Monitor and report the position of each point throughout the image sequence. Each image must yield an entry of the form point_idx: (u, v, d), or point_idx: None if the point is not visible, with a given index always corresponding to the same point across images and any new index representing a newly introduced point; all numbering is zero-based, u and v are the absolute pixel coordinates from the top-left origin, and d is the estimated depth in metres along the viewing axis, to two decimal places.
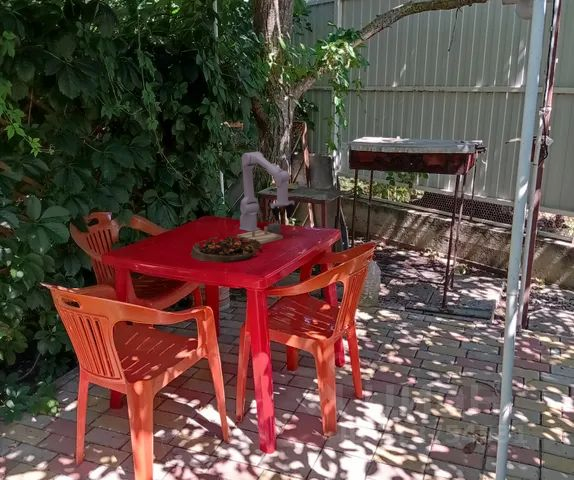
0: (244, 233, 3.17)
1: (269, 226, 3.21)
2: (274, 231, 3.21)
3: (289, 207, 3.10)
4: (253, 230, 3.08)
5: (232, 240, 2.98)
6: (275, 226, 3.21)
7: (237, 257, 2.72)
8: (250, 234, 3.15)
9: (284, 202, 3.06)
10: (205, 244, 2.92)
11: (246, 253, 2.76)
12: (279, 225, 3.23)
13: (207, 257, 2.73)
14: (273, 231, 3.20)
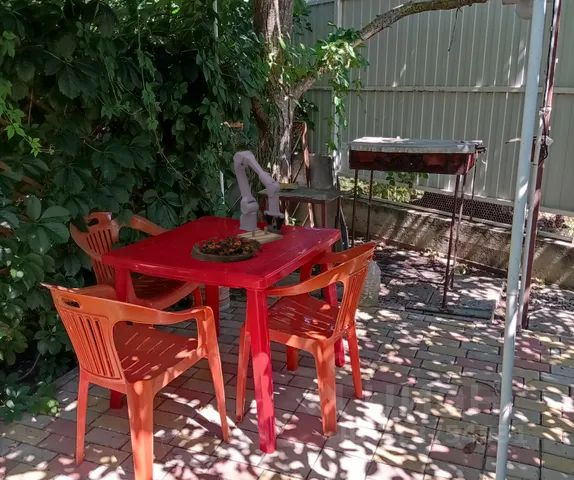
0: (244, 233, 3.17)
1: (269, 226, 3.21)
2: (274, 231, 3.21)
3: None
4: (253, 230, 3.08)
5: (232, 240, 2.98)
6: (275, 226, 3.21)
7: (237, 257, 2.72)
8: (250, 234, 3.15)
9: (269, 212, 3.20)
10: (205, 244, 2.92)
11: (246, 253, 2.76)
12: None
13: (207, 257, 2.73)
14: (273, 231, 3.20)
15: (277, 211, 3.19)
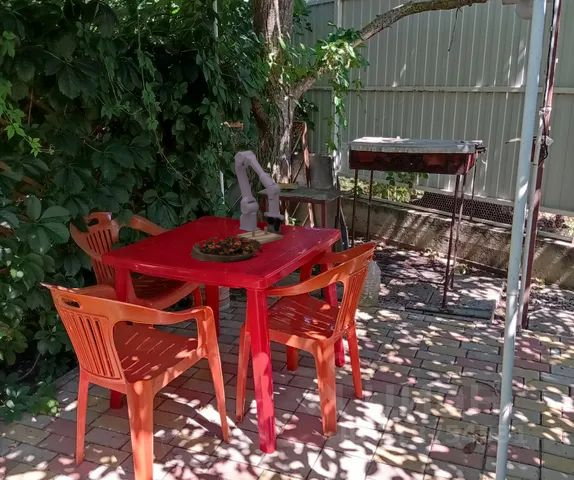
0: (244, 233, 3.17)
1: (269, 226, 3.21)
2: (274, 230, 3.21)
3: None
4: (253, 230, 3.08)
5: (232, 240, 2.98)
6: None
7: (237, 257, 2.72)
8: (250, 234, 3.15)
9: (269, 213, 3.20)
10: (205, 244, 2.92)
11: (246, 253, 2.76)
12: (280, 225, 3.23)
13: (207, 257, 2.73)
14: (273, 231, 3.20)
15: (277, 213, 3.19)
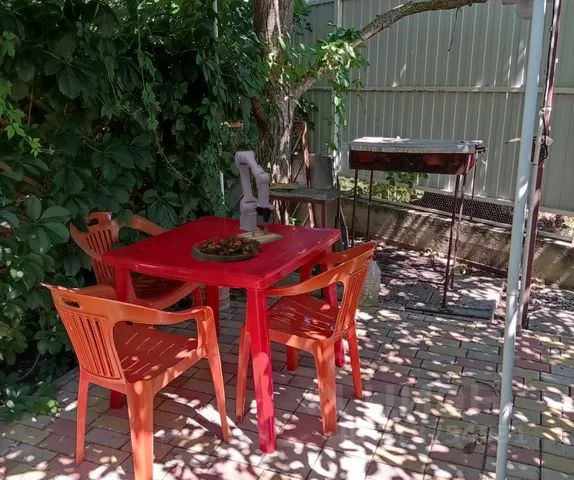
0: (244, 233, 3.17)
1: (259, 217, 3.12)
2: None
3: None
4: (253, 230, 3.08)
5: (232, 240, 2.98)
6: None
7: (237, 257, 2.72)
8: (250, 234, 3.15)
9: (258, 203, 3.11)
10: (205, 244, 2.92)
11: (246, 253, 2.76)
12: (270, 216, 3.14)
13: (207, 257, 2.73)
14: (263, 222, 3.11)
15: (267, 203, 3.10)
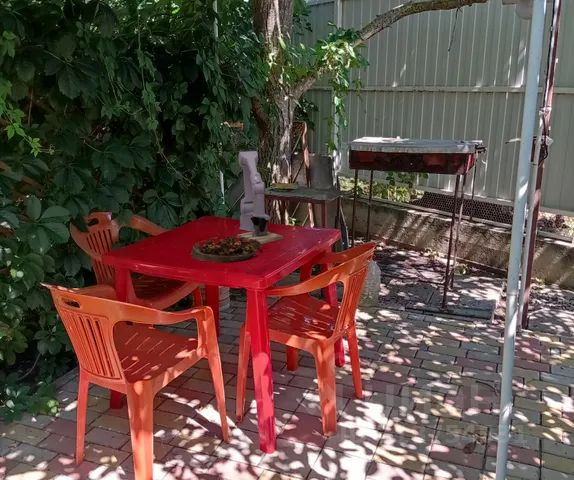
0: (244, 233, 3.17)
1: (255, 227, 3.10)
2: (260, 231, 3.10)
3: None
4: (253, 230, 3.08)
5: (232, 240, 2.98)
6: None
7: (237, 257, 2.72)
8: (250, 234, 3.15)
9: (254, 213, 3.09)
10: (205, 244, 2.92)
11: (246, 253, 2.76)
12: (266, 226, 3.12)
13: (207, 257, 2.72)
14: (259, 232, 3.10)
15: (262, 213, 3.08)
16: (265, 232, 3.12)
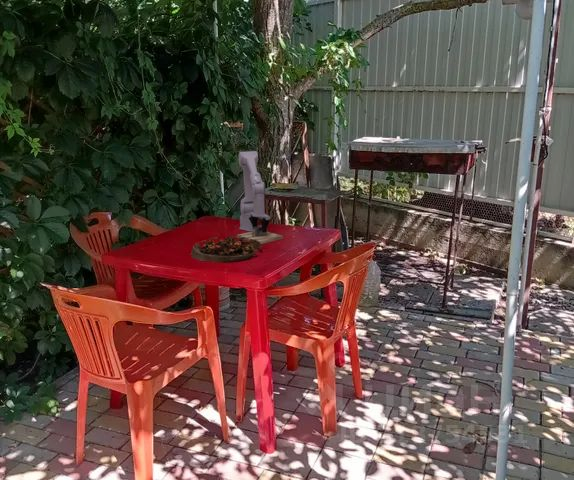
0: (244, 233, 3.17)
1: (255, 228, 3.10)
2: (260, 233, 3.10)
3: None
4: (253, 230, 3.08)
5: (232, 240, 2.98)
6: (261, 228, 3.10)
7: (237, 257, 2.72)
8: (250, 234, 3.15)
9: (254, 213, 3.09)
10: (205, 244, 2.92)
11: (246, 253, 2.76)
12: None
13: (207, 257, 2.72)
14: (259, 233, 3.10)
15: (262, 213, 3.08)
16: (265, 233, 3.13)
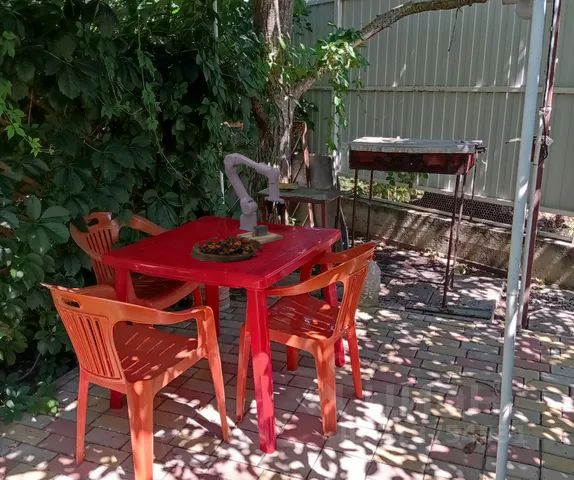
0: (244, 233, 3.17)
1: (255, 228, 3.10)
2: (260, 233, 3.10)
3: None
4: (253, 230, 3.08)
5: (232, 240, 2.98)
6: (261, 228, 3.10)
7: (237, 257, 2.72)
8: (250, 234, 3.15)
9: (269, 197, 3.22)
10: (205, 244, 2.92)
11: (246, 253, 2.76)
12: (266, 227, 3.12)
13: (207, 257, 2.72)
14: (259, 233, 3.10)
15: (277, 197, 3.21)
16: (265, 233, 3.13)
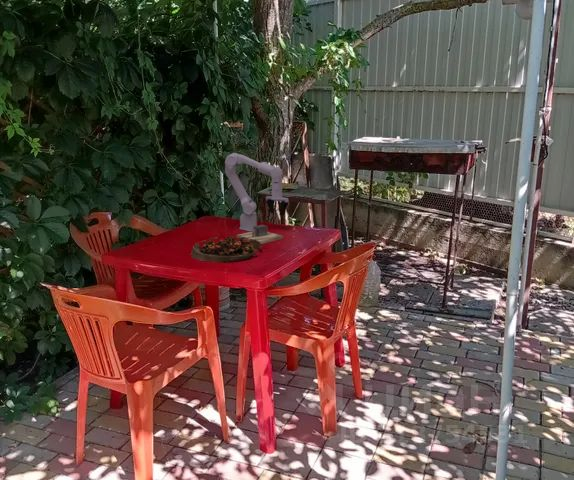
0: (244, 233, 3.17)
1: (255, 228, 3.10)
2: (260, 233, 3.10)
3: None
4: (253, 230, 3.08)
5: (232, 240, 2.98)
6: (261, 228, 3.10)
7: (237, 257, 2.72)
8: (250, 234, 3.15)
9: (272, 197, 3.24)
10: (205, 244, 2.92)
11: (246, 253, 2.76)
12: (266, 227, 3.12)
13: (207, 257, 2.72)
14: (259, 233, 3.10)
15: (281, 196, 3.24)
16: (265, 233, 3.13)
